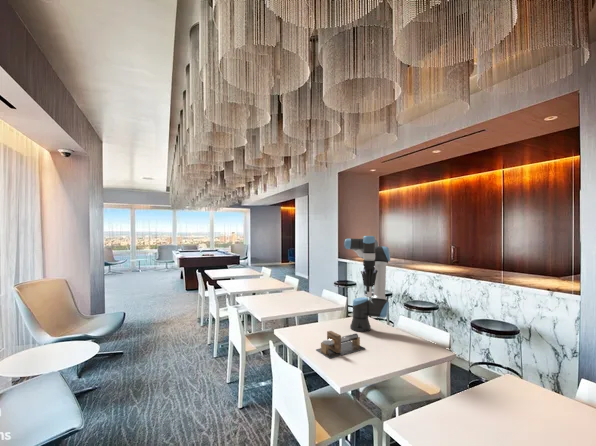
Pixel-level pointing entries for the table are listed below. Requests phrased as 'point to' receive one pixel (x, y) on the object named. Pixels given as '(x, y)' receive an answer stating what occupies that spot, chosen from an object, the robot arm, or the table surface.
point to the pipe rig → (345, 347)
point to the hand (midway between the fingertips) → (369, 296)
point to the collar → (337, 338)
